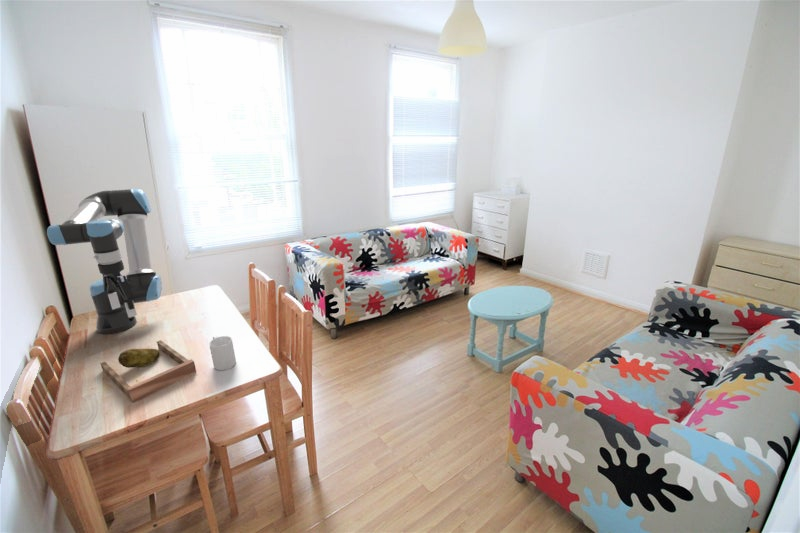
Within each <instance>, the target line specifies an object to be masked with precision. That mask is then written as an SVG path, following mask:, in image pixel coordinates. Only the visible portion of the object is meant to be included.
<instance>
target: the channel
mask: <svg viewBox="0 0 800 533" xmlns="http://www.w3.org/2000/svg"><path fill="white" fill-rule="evenodd" d="M156 344H157V348H158V349H157V350H159V351H161V352H162V353H163V354H165V355H166V356H167V357H168V358H170V359H172V360H173V361H174V362H175V363H177V364H178V365H175V366H174V367H171V368H168V369H167V370H164V371H162V372H159V373H158V374H156V375H152V376H151V377H149V378H147V379H144V380H142V381H140V382H138V383H136V384H133V385H130V384H129V383H127V382H126V380H124V379H123V377H121V376H120V374H118V373H117V372H116V370H114V369H113V368H112V367H111V366H110V365H109V364H108V363H107V361H104V362H103V361H102V362H101V363H100V367H101V370H102V372H103V373H104V374H105V375H106V376H107V377H108V379H109V380H111V381H112V382H113V383H114V385H116V386H117V388H118V389H119V390H120V391H121V392H122V393H123V394H124V395H125V396H126V397H127V399H129V400H130V402H132V403H136V402H137V401H140V400H142V399H144V398H146V397H149V396H150V395H152V394H154V393H157V392H159V391H161V390H163V389H165V388H168V387H169V386H171V385H174V384H175V383H177V382H179V381H182V380H184V379H186V378H188V377H190V376H191V375H194V374H197V369H196V365H195V364H196V363H195V360H193V359H190V360H189V359H188V358H186V357H185V356H184V355H182V354H181V353H179V352H178V351H177V350H175V349H174V348H172V347H171V346H169V345H168V344H167V343H165V342H164V341H162V340H161V339H160V340H158V341H156Z"/></svg>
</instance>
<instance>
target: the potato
mask: <svg viewBox="0 0 800 533" xmlns="http://www.w3.org/2000/svg"><path fill="white" fill-rule="evenodd" d="M160 353H161V352H160V350H159V349H157V348H130V349H126V350H124V351H122V352H121V353H119V355H118V358H117V360H118V363H119V364H120V365H122V366H123V367H125V368H128V369H129V368H131V369H132V368H133V369H134V368H145V367H147V366H150V365H152V364H153V363H156V361H157V360H158V359H159V358H160V357H161V354H160Z"/></svg>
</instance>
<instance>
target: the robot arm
mask: <svg viewBox="0 0 800 533" xmlns="http://www.w3.org/2000/svg"><path fill="white" fill-rule="evenodd" d="M151 212H152V209H151V206H150V201H149V199H148V197H147V194H146V193H145V192H144V190H142V189H139V188H138V189H137V188H136V189H132V188H130V189H129V188H128V189H116V190H114V189H112V190H102V191H98V192H95V193H93V194H90V195H88V196H86V197H85V198H84V199H82V200H81V201H80V202H79V204H78V208H77V209H76V210H75V211H74V212H73V213H72V214H71V215H70V216H69V217H68V218H66V220H65V221H64V222H63V223H61V224H55V225H49V226H48V227H47V229H46V235H47V239H48V241H49V242H50V243H51V244H52V245H54V246H61V245H62V246H63V245H64V246H66V245H74V244H75V245H77V244H84V243H85V244H86V243H90V244H91V247H92V250H93V253H94V254H93V255H94V256H93V259H95V260H96V263H98V264H97V268H98V271H99V273H100V274H101V275H102V279H100V280H98V281H96V282H94V283H92V284H91V285H90V287H89V290H90V297H91V299H92V301H93V304H94V308H95V311H96V316H97V317H96V326H95V327H96V331H97V332H98V333H99V334H103V335H109V334H115V333H119V332H123V331H125V330H128V329H131V328H132V327H133V326H135V325H136V324H137V322H138V320H137V318H136V316H138V313H137V309H136V306H135V304H138V303H145V302H153V301H156V300H158V299H160V297H161V295H162V278H161V276H160V275H158V274H157V273H156V271H155V270H153V269H152V265H151V263H152V262H151V258H150V251H149V250H150V249H149V243H148V237H147V229H146V224H145V221H146V219H148V214H151ZM110 216H111V217H112V216H113V217H114V216H117V219H118V220H117V219H114V218H113V219H112V218H108V219H102V218H103V217H110ZM122 235H123V236H124V241H125V242H124V243H125V248H126V249H125V251H126V256H127V262H128V270H129V271H128V272H127V274H126V275H122V274H121V272H122V271H124V270H125V265H124V263H123V260H122V257H123V256H122V254H121V251H120V248H119V246H118V241H117V240H118V239H119V238H120V237H121V236H122Z"/></svg>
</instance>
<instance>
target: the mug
mask: <svg viewBox="0 0 800 533" xmlns="http://www.w3.org/2000/svg"><path fill="white" fill-rule="evenodd" d="M208 344H209V350H210V354H211V359H212V363H213V367H214V370H217V371H226V370H230V369H232V368H233V367H234V366H235V365H236V363H237V360H236V359H237V358H236V354H235V349H234V343H233V339H232V337H231V336H228V335H223V336H222V335H221V336H217V335H215V336H212V340H210V342H209V343H208Z"/></svg>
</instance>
